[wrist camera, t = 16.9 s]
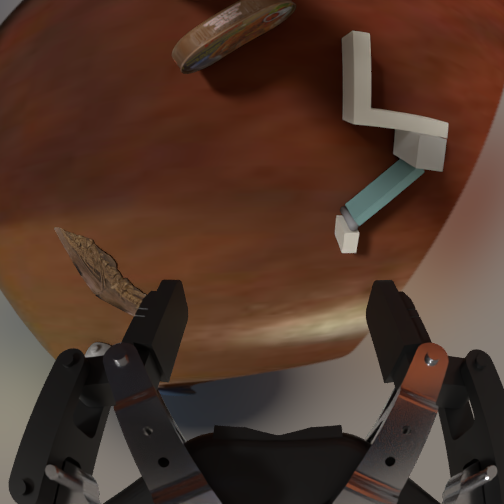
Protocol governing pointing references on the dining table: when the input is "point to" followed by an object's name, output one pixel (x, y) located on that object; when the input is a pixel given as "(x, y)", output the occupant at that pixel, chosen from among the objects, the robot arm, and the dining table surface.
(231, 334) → the dining table surface
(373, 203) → the teal long flat block
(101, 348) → the dish
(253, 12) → the tin
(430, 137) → the block
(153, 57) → the dining table surface
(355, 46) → the grey angled piece
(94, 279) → the wooden fragment
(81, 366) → the robot arm
